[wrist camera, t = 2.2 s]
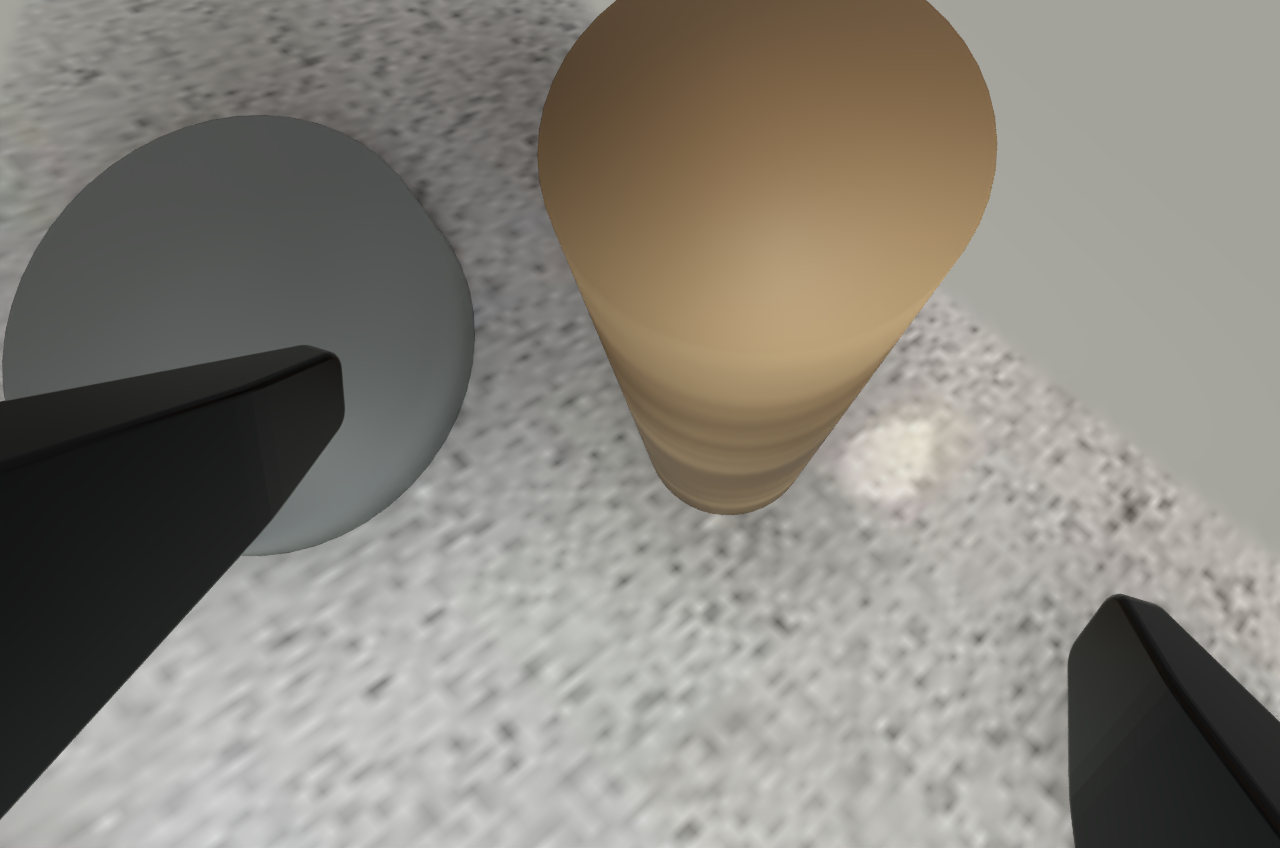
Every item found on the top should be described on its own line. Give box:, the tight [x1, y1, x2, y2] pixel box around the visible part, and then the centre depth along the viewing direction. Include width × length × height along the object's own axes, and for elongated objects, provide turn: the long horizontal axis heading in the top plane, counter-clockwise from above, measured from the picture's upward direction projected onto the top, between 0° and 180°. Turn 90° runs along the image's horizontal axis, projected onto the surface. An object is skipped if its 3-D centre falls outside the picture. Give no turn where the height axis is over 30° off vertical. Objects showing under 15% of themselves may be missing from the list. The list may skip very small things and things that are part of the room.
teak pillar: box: [537, 0, 997, 515], centre depth 13 cm, size 4×4×12 cm
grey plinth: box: [2, 115, 475, 556], centre depth 19 cm, size 11×11×2 cm
